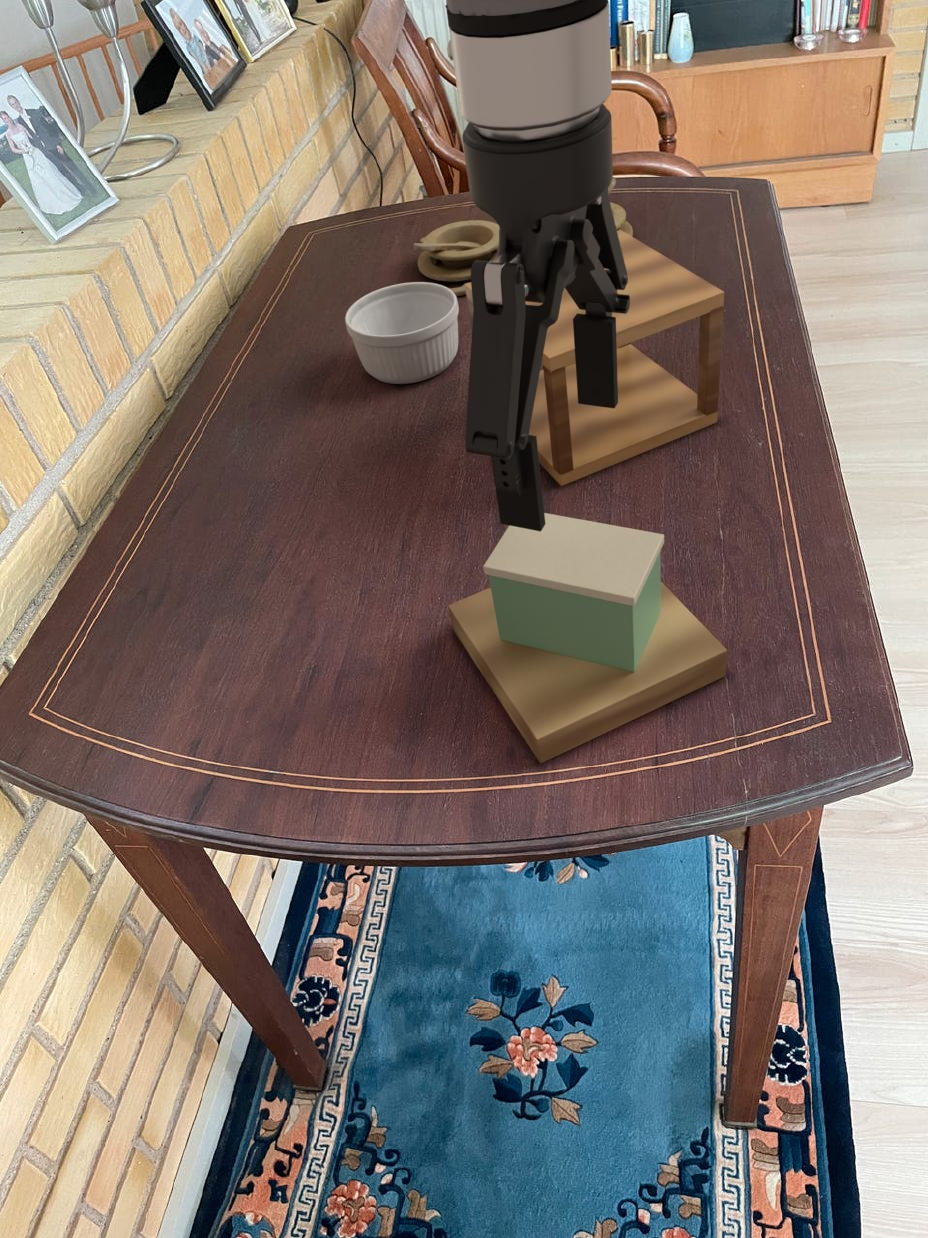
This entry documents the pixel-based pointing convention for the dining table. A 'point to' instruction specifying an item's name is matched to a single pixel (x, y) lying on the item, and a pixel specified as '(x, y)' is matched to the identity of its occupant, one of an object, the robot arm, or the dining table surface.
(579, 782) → the dining table surface
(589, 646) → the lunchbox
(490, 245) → the tableware set
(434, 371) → the ramekin
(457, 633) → the wooden square board
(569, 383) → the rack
